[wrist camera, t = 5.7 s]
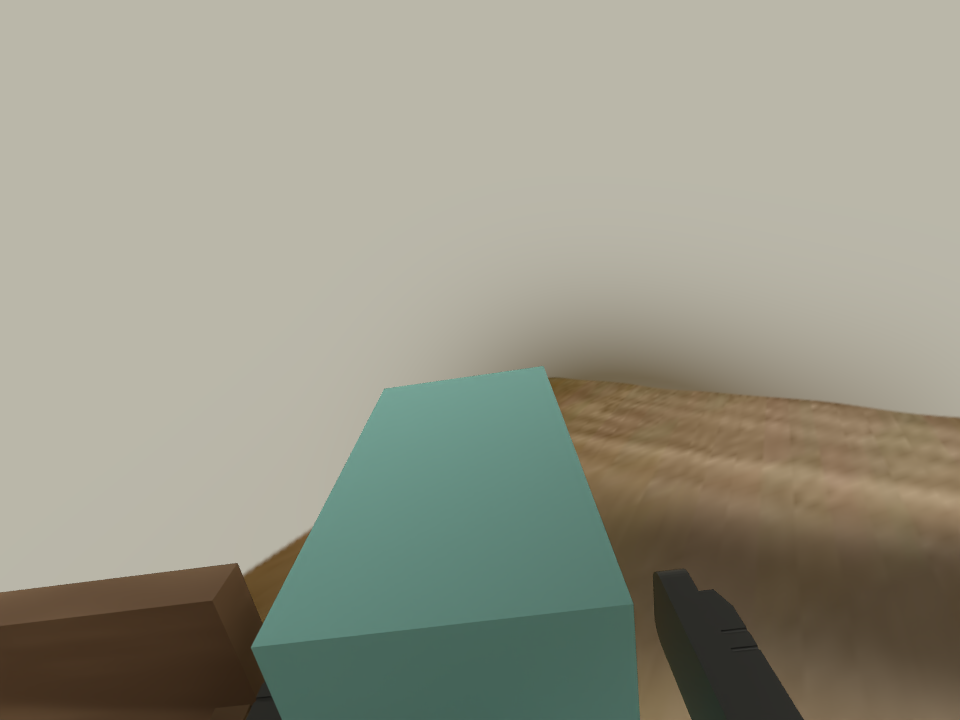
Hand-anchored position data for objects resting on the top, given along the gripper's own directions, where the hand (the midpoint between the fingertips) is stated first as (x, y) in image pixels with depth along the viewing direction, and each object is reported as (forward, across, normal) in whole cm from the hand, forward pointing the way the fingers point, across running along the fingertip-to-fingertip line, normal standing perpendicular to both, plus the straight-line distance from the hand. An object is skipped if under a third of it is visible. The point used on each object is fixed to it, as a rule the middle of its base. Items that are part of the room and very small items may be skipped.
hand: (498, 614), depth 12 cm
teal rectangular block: (-2, 0, +8) cm, 8 cm away
